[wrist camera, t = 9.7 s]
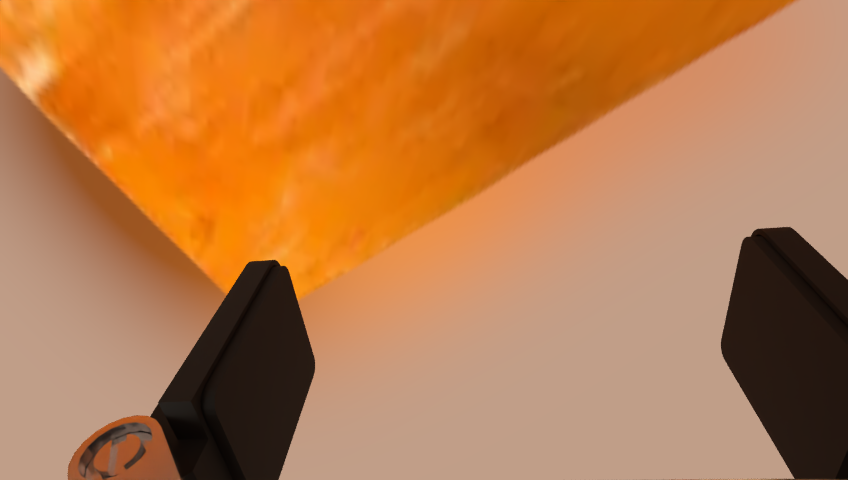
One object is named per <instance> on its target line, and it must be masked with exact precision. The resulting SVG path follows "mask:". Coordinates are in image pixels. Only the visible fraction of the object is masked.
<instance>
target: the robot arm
mask: <svg viewBox="0 0 848 480" xmlns="http://www.w3.org/2000/svg"><path fill="white" fill-rule="evenodd" d="M721 350H722V354H723V357H724V359H725V361H726V363H727V365H728V366H729V368H730V370H731V371H732V373H733V375H734V377H735V378H736V380H737V382H738V383H739V385H740V387H741V388H742V390H743V392H744V394H745V395H746V397H747V399H748V400H749V402H750V404H751V405H752V407H753V409H754V411H755V412H756V414H757V416H758V417H759V419H760V421H761V422H762V424H763V426H764V427H765V429H766V431H767V433H768V434H769V436H770V437H771V439H772V441H773V443H774V444H775V446H776V448H777V450H778V451H779V453H780V455H781V456H782V458H783V460H784V461H785V463H786V465H787V467H788V468H789V470H790V472H791V473H792V475H793V477H794V478H795V479H682V480H848V280H847V279H846V278H845V277H844V276H843V275H842V274H841V273H839V271H838V270H837V269H835V268H834V267H833V266H832V265H831V264H830V263H829V262H828V261H827V260H826V259H825V258H824V257H823V256H822V255H820V254H819V253H818V252H817V251H816V250H815V249H814V248H813V247H812V246H811V245H810V244H809V243H808V242H806V241H805V240H804V238H802V237H801V236H800V235H799V234H798V233H797V232H796V231H795V230H794V229H792V228H790V227H782V228H781V227H780V228H765V229H757V230H755V231H754V232H753V233H752V235H751V237H746V238H745V239H744V240H743V242H742V246H741V250H740V254H739V259H738V264H737V269H736V273H735V278H734V283H733V288H732V292H731V297H730V301H729V306H728V311H727V316H726V321H725V325H724V330H723V334H722V339H721ZM314 372H315V359H314V355H313V352H312V348H311V345H310V342H309V338H308V335H307V331H306V328H305V325H304V321H303V318H302V315H301V311H300V308H299V304H298V301H297V298H296V294H295V291H294V287H293V284H292V281H291V277H290V274H289V271H288V269H287V267H285V266H280V264H279V263H278V261H276V260H267V261H252V262H249V263H248V264H247V265H246V266H245V268H244V270H243V271H242V273H241V274H240V276H239V277H238V279H237V280H236V282H235V284H234V285H233V287H232V288H231V290H230V291H229V293H228V295H227V296H226V298H225V299H224V301H223V302H222V304H221V306H220V307H219V309H218V310H217V312H216V313H215V315H214V316H213V318H212V319H211V321H210V323H209V324H208V326H207V327H206V329H205V330H204V332H203V333H202V335H201V337H200V338H199V340H198V341H197V343H196V344H195V346H194V348H193V349H192V351H191V352H190V354H189V355H188V357H187V358H186V360H185V362H184V363H183V365H182V366H181V368H180V369H179V371H178V372H177V374H176V375H175V377H174V379H173V380H172V382H171V383H170V385H169V386H168V388H167V389H166V391H165V393H164V394H163V396H162V397H161V399H160V400H159V402H158V403H159V404H158V405H157V407H156V408H155V410H154V411H153V413H152V414H151V416H150V417H149V416H138V415H137V416H131V417H126V418H122V419H120V420H117V421H115V422H112V423H110V424H108V425H106V426H105V427H103V428H101V429H100V430H98V431H96V432H95V433H94V434H93V435H91V436H90V437H89V438H88V439H87V440H85V441H84V442H83V443H82V445H81V446H80V447H79V448H78V449H77V451H76V452H75V453H74V455H73V457H72V459H71V461H70V463H69V466H68V480H278V479H279V476H280V473H281V471H282V468H283V465H284V462H285V459H286V455H287V453H288V450H289V447H290V444H291V441H292V438H293V435H294V432H295V429H296V426H297V423H298V420H299V417H300V414H301V411H302V408H303V405H304V402H305V400H306V396H307V394H308V391H309V387H310V385H311V382H312V379H313V376H314ZM671 480H676V479H671ZM677 480H681V479H677Z"/></svg>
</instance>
